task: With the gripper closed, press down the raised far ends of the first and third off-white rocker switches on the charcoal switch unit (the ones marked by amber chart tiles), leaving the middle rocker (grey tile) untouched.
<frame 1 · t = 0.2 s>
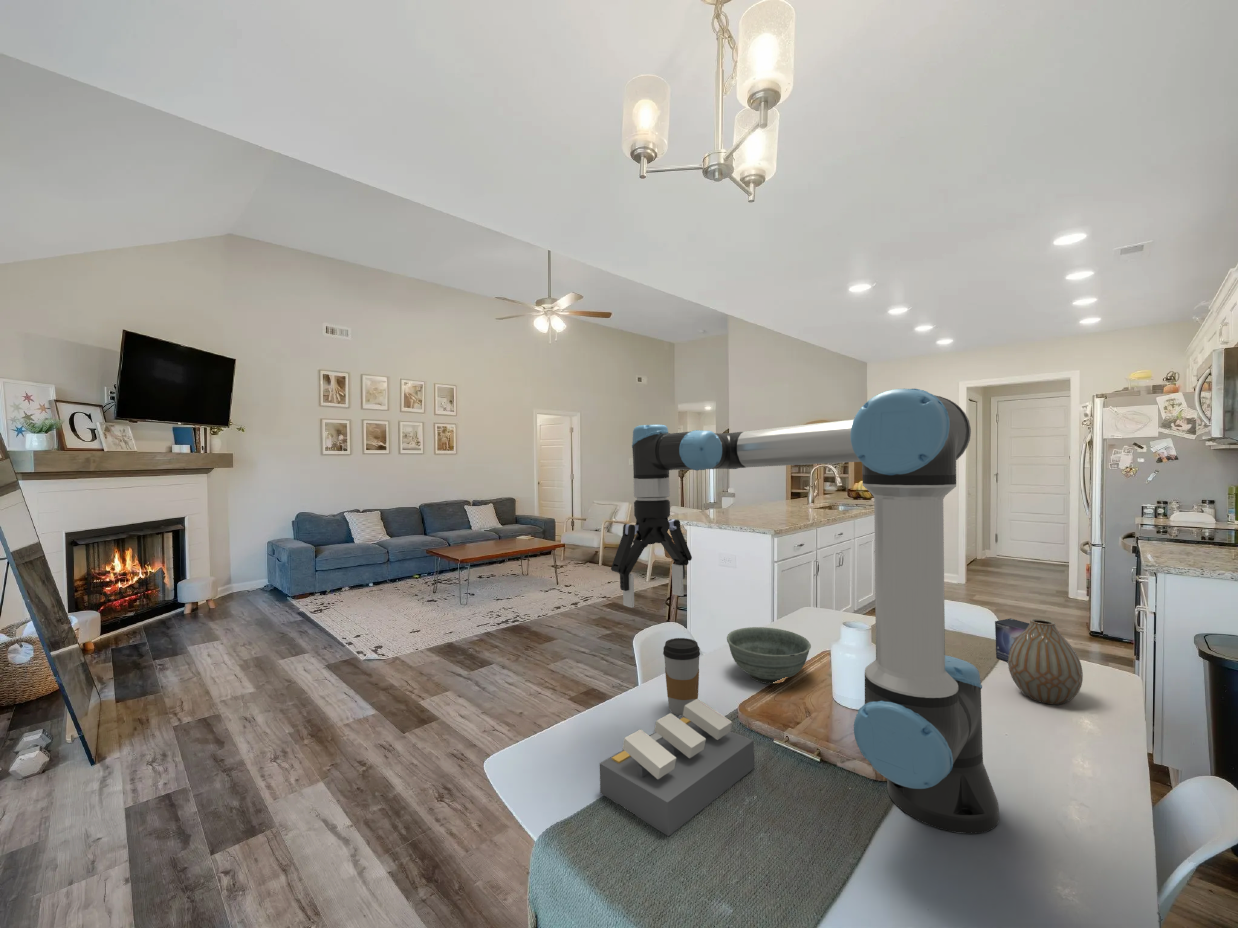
hand: (654, 600, 108), 27 cm above the table, fingers open, 13 cm apart
small box: (1022, 664, 138), on the table
rocker 2: (679, 734, 90), point 8 cm above the table, hinge at -14.0°
coffee cup: (683, 710, 117), on the table
rocker 1: (707, 718, 96), point 8 cm above the table, hinge at -14.0°
rocker 3: (648, 752, 85), point 8 cm above the table, hinge at -14.0°
vase: (1045, 699, 118), on the table
bowl: (768, 678, 133), on the table
switch unit: (679, 779, 90), on the table
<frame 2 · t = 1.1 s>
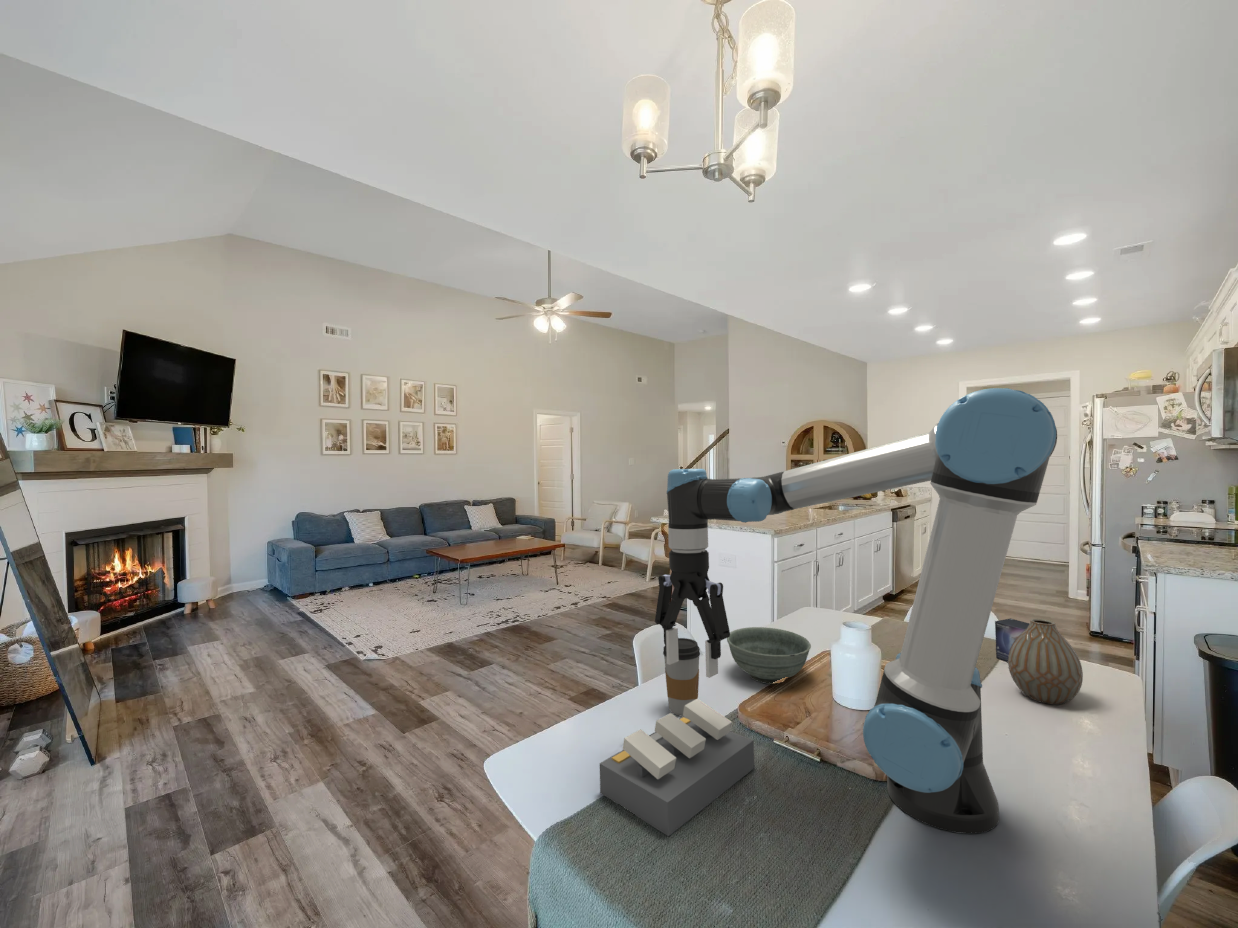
hand: (691, 668, 98), 16 cm above the table, fingers open, 9 cm apart
nothing on the table moved.
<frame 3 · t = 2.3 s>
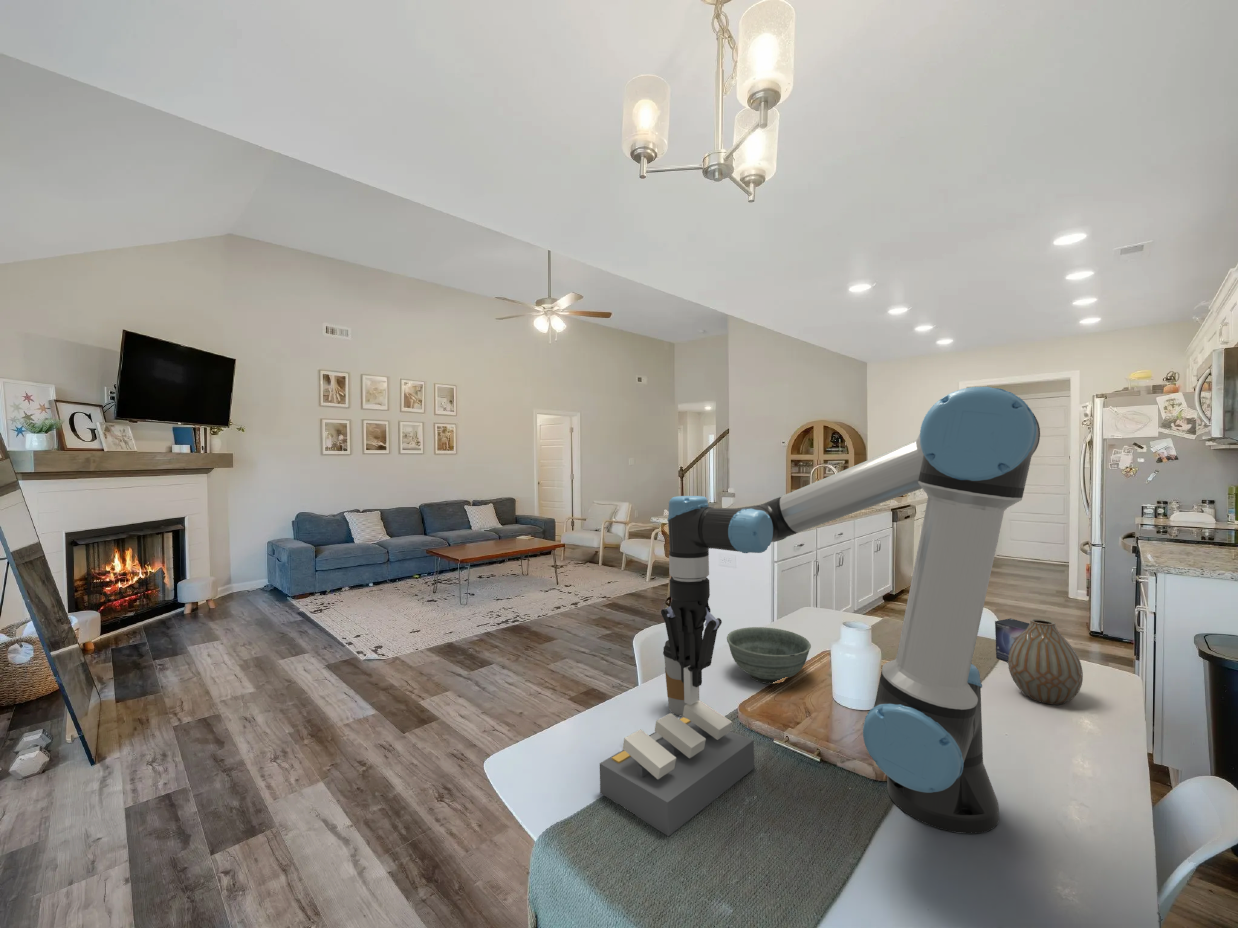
hand: (691, 701, 98), 10 cm above the table, fingers closed
rocker 1: (706, 718, 96), point 8 cm above the table, hinge at -13.6°, touching gripper
everything else where it was.
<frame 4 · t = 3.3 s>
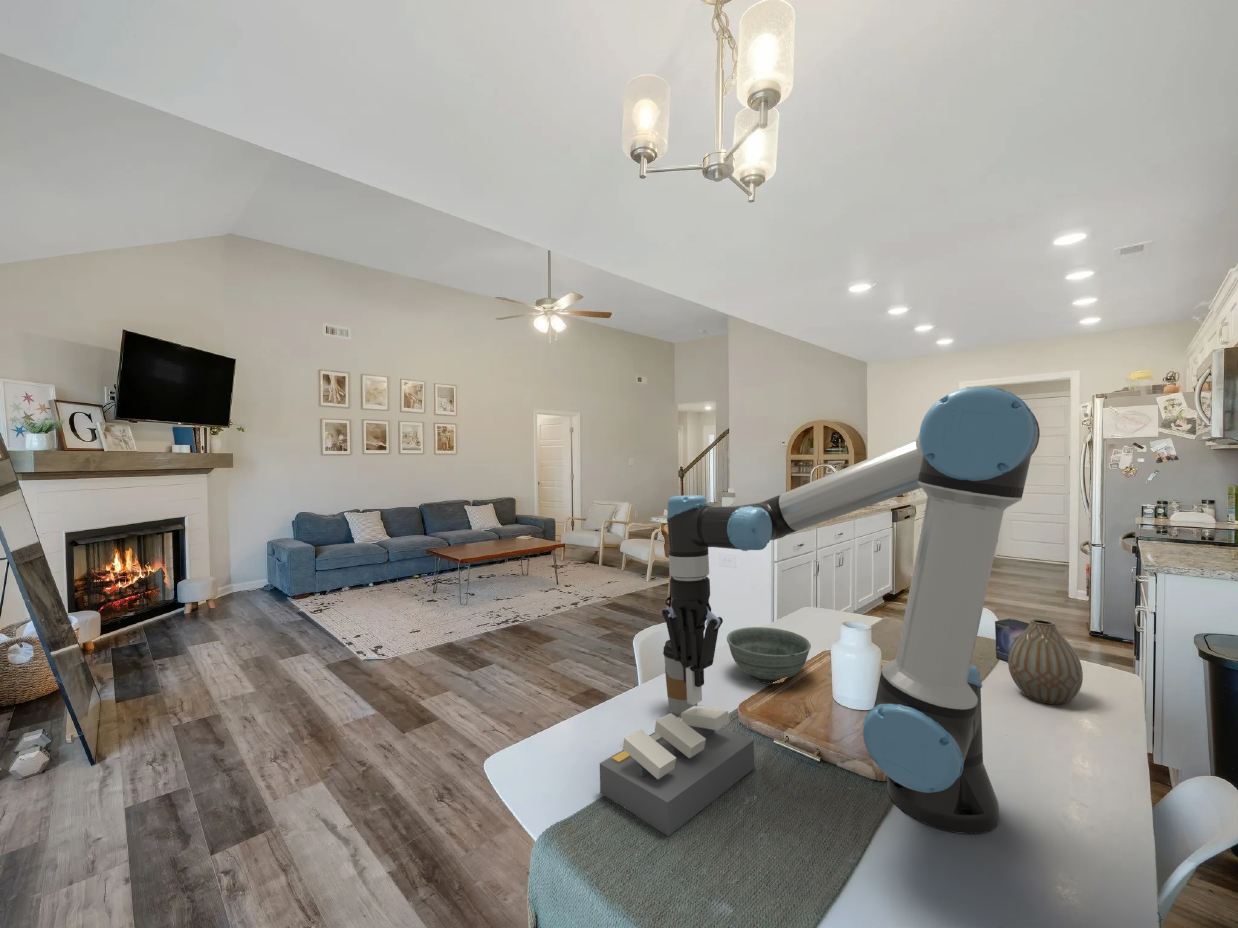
hand: (694, 701, 98), 10 cm above the table, fingers closed
rocker 1: (705, 717, 96), point 8 cm above the table, hinge at 11.0°
everything else where it was.
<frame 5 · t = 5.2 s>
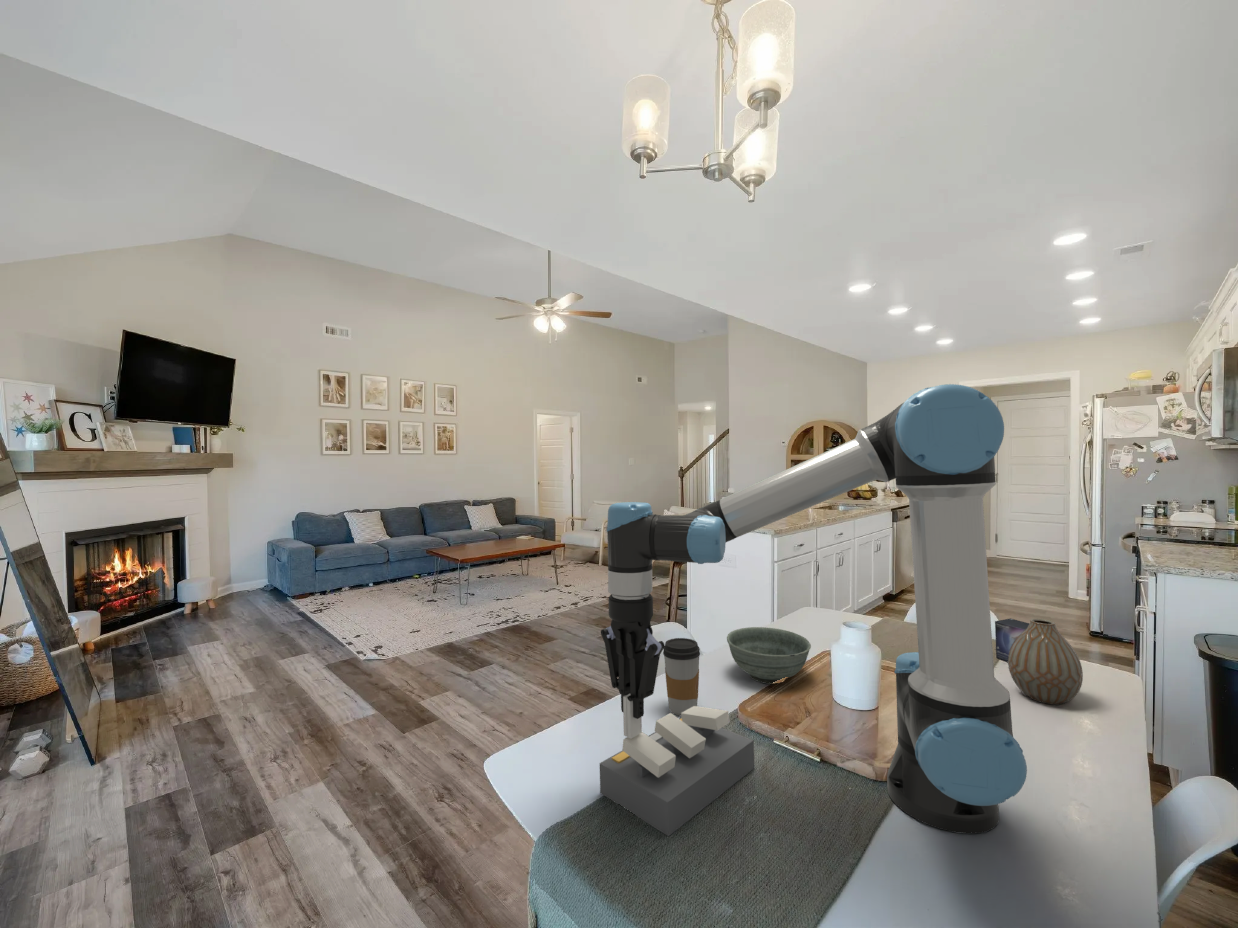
hand: (632, 733, 87), 10 cm above the table, fingers closed
rocker 3: (648, 752, 85), point 8 cm above the table, hinge at -9.5°, touching gripper
everything else where it was.
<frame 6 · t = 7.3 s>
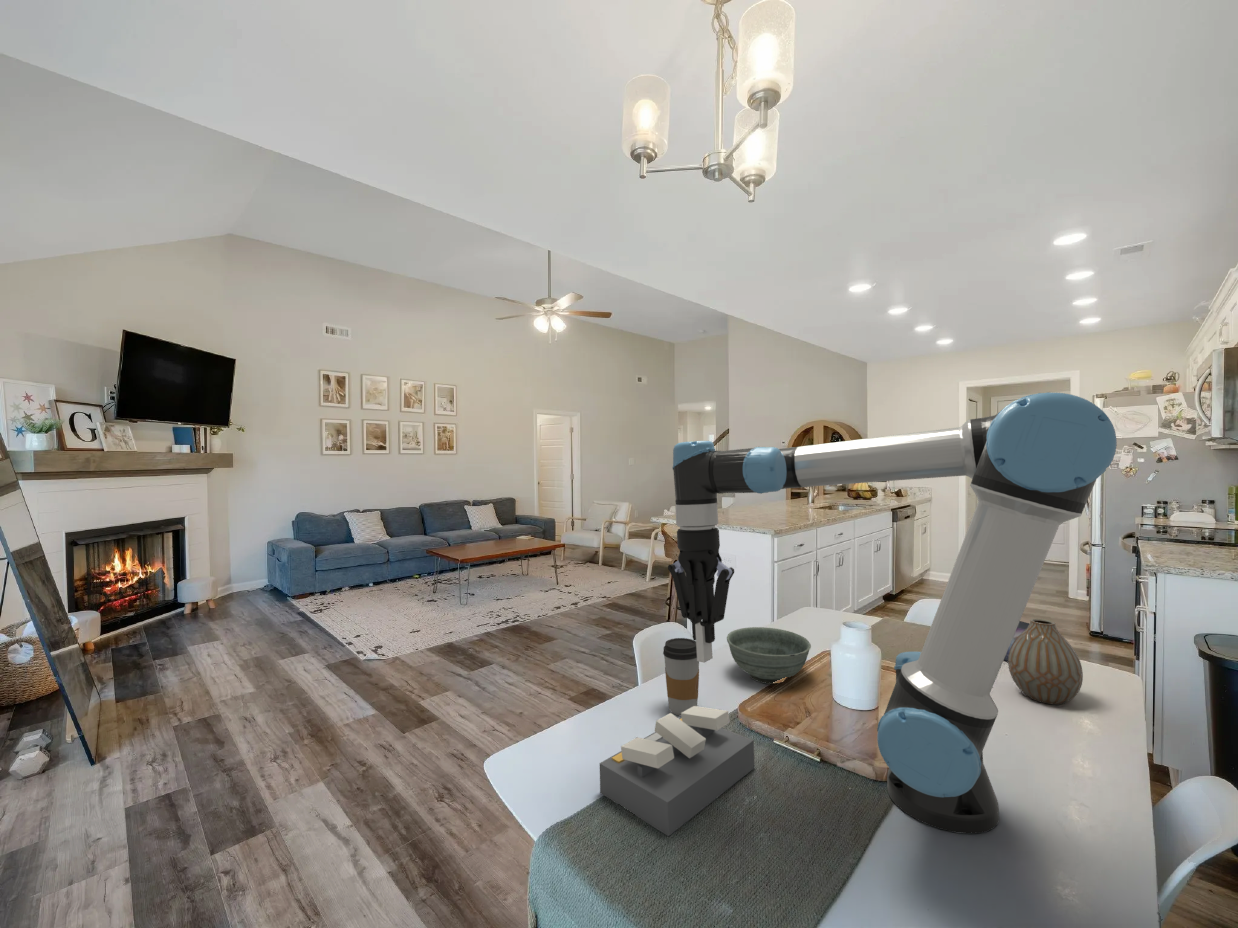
hand: (704, 659, 92), 20 cm above the table, fingers closed
rocker 3: (647, 751, 85), point 8 cm above the table, hinge at 11.0°
everything else where it was.
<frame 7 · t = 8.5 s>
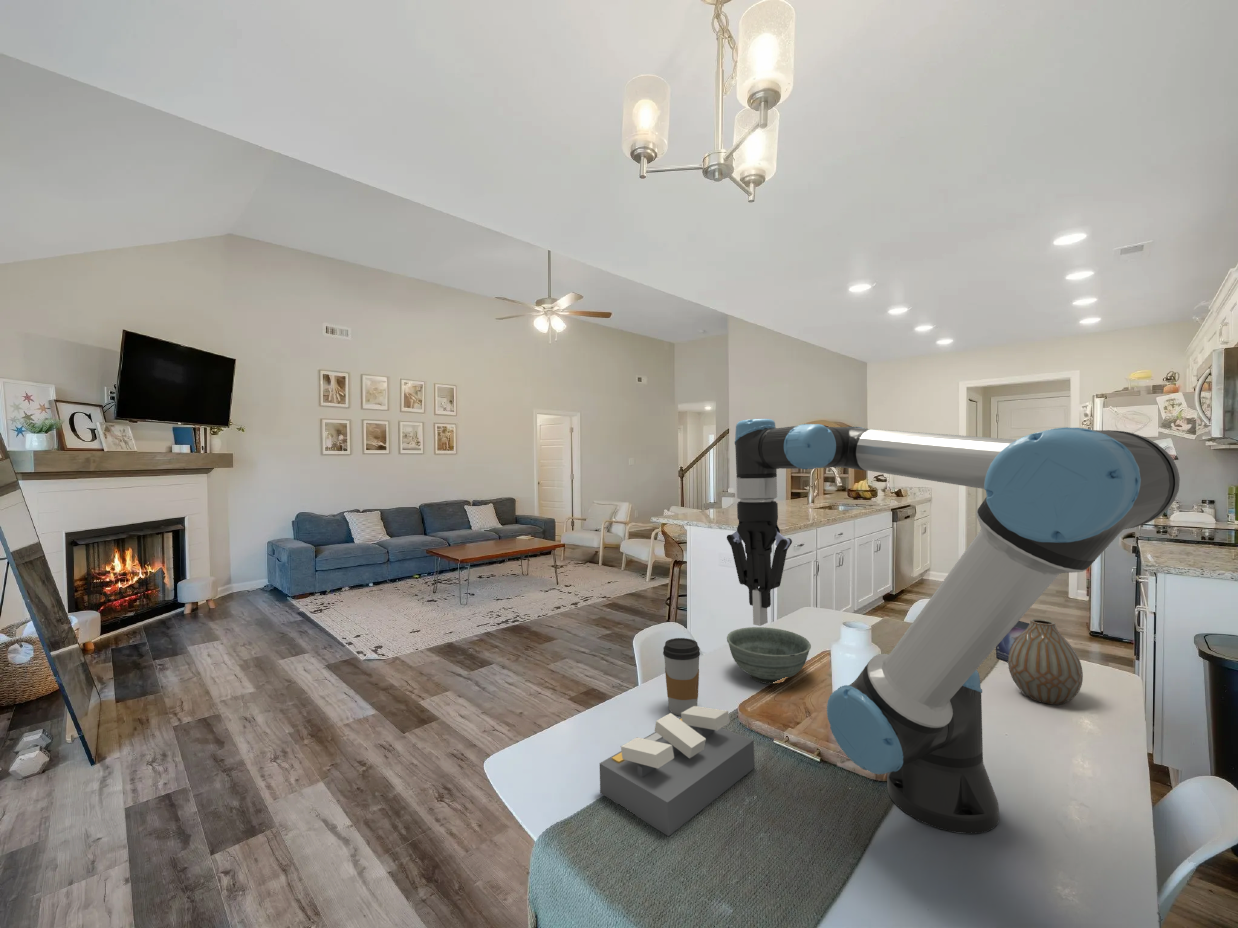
hand: (760, 623, 99), 24 cm above the table, fingers closed
nothing on the table moved.
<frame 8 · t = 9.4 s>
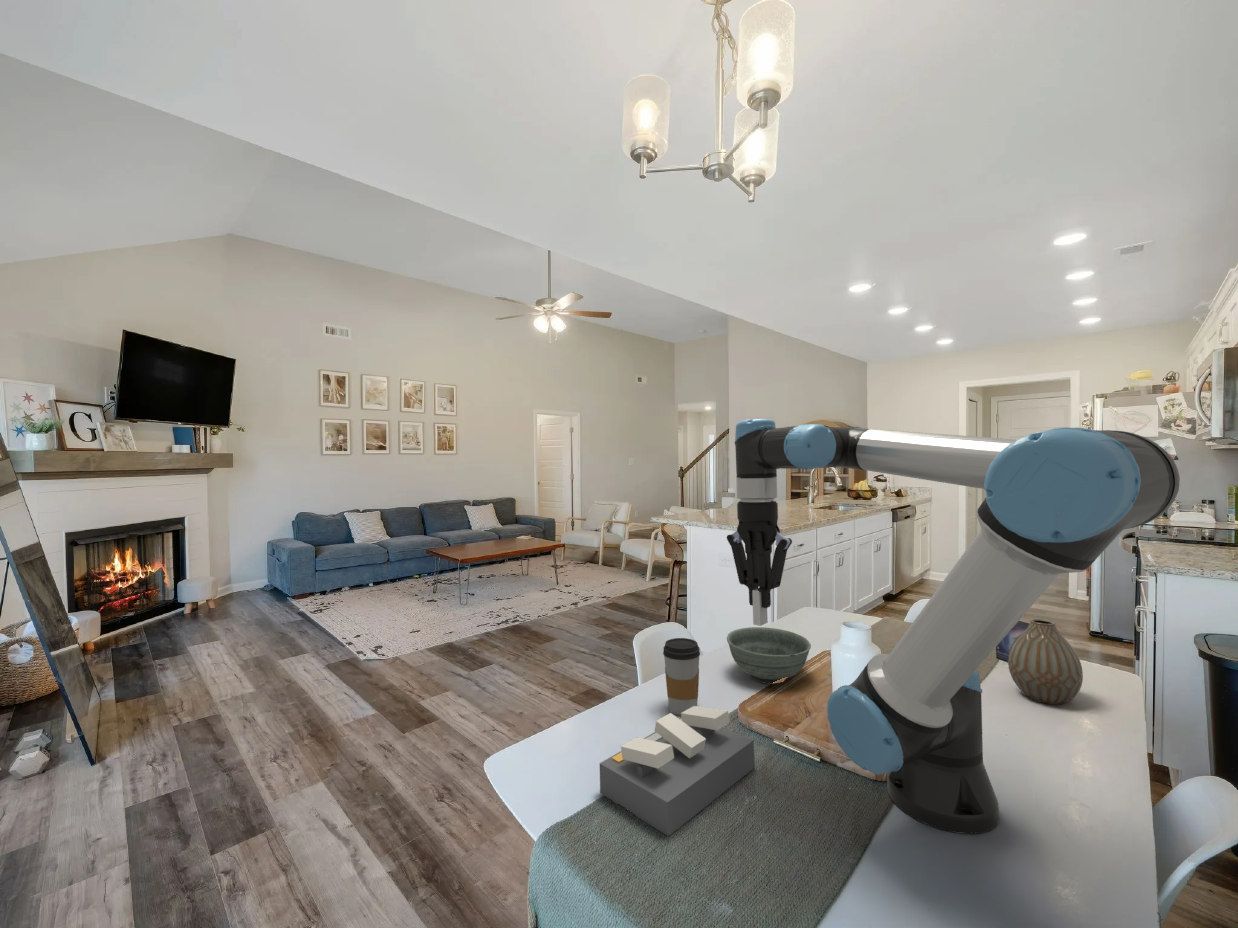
hand: (760, 623, 99), 24 cm above the table, fingers closed
nothing on the table moved.
at the end: rocker 1 at +11° (first picture: -14°); rocker 3 at +11° (first picture: -14°); rocker 2 at -14° (first picture: -14°) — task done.
